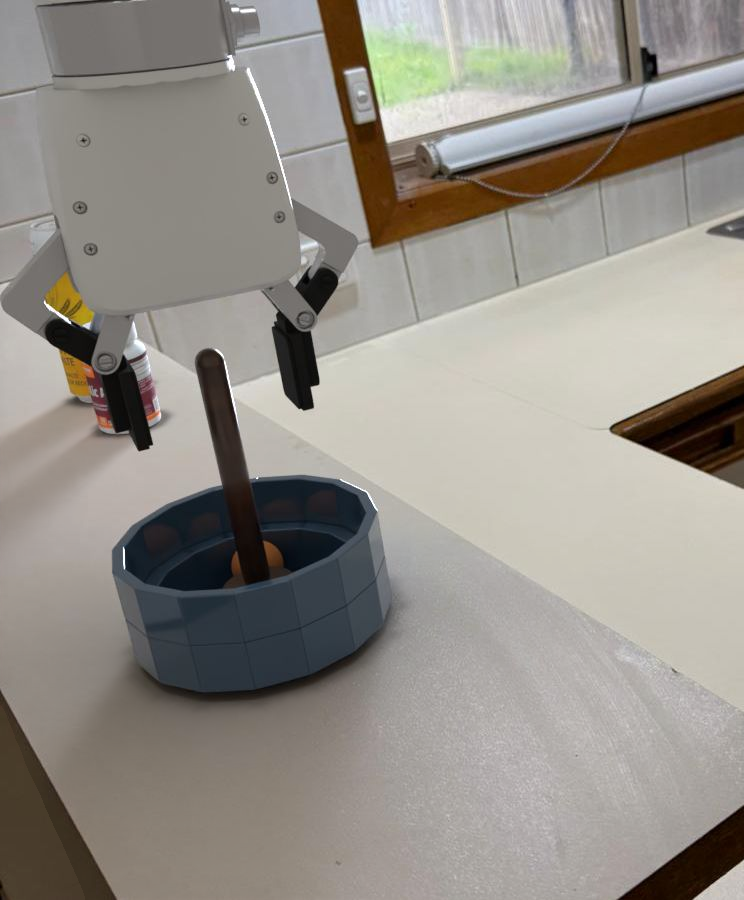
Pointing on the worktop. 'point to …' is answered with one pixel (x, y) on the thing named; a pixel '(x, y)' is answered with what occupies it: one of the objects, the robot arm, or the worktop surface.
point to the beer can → (64, 310)
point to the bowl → (253, 585)
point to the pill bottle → (141, 366)
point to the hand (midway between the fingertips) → (222, 419)
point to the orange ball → (271, 553)
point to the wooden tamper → (233, 471)
